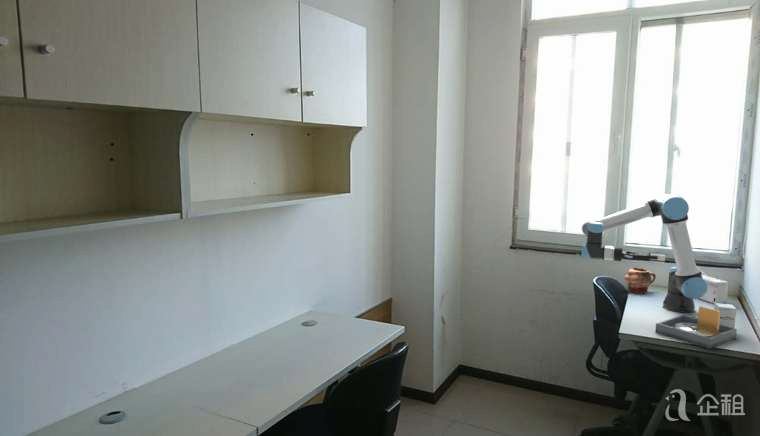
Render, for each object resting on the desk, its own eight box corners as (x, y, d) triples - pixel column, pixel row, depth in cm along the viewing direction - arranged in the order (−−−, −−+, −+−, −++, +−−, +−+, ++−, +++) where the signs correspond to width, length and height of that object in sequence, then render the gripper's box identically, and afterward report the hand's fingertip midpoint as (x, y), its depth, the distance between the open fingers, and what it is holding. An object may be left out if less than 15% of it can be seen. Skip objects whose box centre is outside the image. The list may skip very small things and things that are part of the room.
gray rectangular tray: (681, 323, 255) (682, 314, 255) (735, 338, 235) (736, 329, 235) (655, 332, 242) (656, 323, 242) (709, 348, 222) (710, 338, 222)
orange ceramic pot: (645, 288, 322) (647, 266, 320) (660, 293, 310) (662, 270, 308) (618, 289, 317) (620, 267, 315) (632, 295, 305) (634, 272, 304)
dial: (666, 329, 242) (668, 303, 240) (687, 323, 250) (689, 298, 248) (706, 341, 226) (709, 314, 225) (726, 335, 235) (729, 308, 233)
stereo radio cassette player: (727, 304, 289) (730, 269, 286) (715, 305, 287) (718, 270, 284) (696, 294, 309) (699, 261, 306) (685, 295, 307) (688, 262, 304)
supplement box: (715, 332, 243) (718, 306, 241) (712, 327, 250) (714, 302, 248) (734, 334, 240) (736, 308, 239) (729, 329, 247) (732, 304, 246)
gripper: (613, 258, 274) (664, 262, 263) (612, 262, 262) (665, 267, 252) (614, 244, 273) (665, 248, 262) (613, 248, 261) (666, 252, 251)
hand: (665, 258), depth 257 cm, fingers closed
